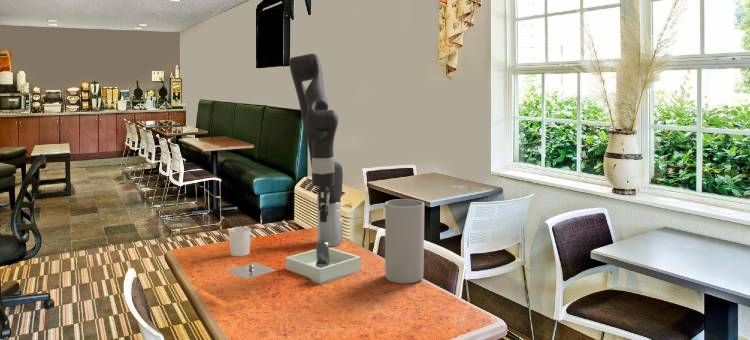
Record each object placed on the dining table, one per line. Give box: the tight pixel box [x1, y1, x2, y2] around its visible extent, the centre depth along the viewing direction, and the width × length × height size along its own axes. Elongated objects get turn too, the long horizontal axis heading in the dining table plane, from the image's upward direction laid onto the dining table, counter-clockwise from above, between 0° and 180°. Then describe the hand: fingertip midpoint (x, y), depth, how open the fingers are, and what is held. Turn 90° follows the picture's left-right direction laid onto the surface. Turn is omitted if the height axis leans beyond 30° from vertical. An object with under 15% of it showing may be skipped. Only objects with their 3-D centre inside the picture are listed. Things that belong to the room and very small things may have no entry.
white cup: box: [228, 226, 252, 257], centre depth 199 cm, size 8×8×10 cm
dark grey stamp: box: [315, 240, 330, 268], centre depth 181 cm, size 4×4×9 cm
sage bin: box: [284, 247, 362, 286], centre depth 182 cm, size 18×18×5 cm
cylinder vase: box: [384, 198, 425, 285], centre depth 174 cm, size 12×12×25 cm
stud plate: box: [226, 262, 277, 280], centre depth 180 cm, size 12×12×3 cm
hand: (324, 218), depth 179 cm, fingers open, 8 cm apart
